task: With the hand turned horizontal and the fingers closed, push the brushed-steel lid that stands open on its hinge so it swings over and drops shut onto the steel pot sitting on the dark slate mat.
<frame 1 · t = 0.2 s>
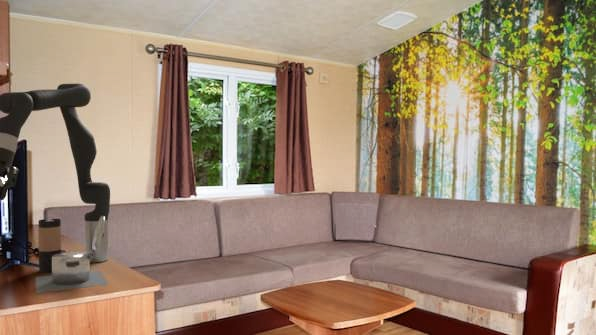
pot: (71, 280, 166), resting on mat
lid: (98, 235, 170), point 16 cm above the tv stand, hinge at 105.1°
mat: (71, 281, 166), on the tv stand
travel mug: (49, 272, 180), on the tv stand
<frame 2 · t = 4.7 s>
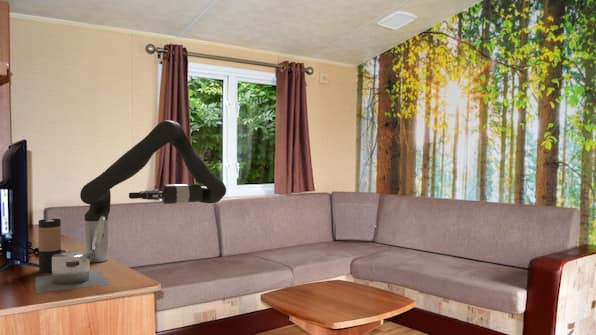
hand: (129, 195, 175), 30 cm above the tv stand, tool horizontal, fingers closed
nothing on the tv stand moved.
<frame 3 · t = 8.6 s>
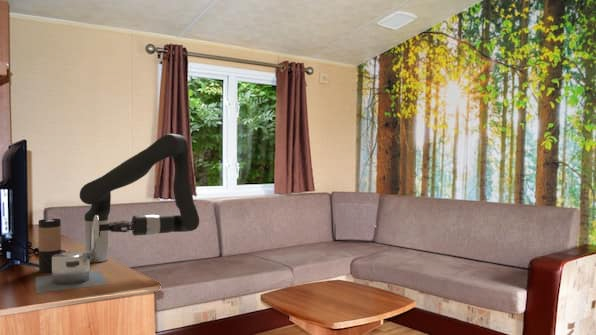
hand: (97, 227, 170), 19 cm above the tv stand, tool horizontal, fingers closed
lid: (95, 234, 170), point 16 cm above the tv stand, hinge at 95.1°, touching gripper
everything else where it was.
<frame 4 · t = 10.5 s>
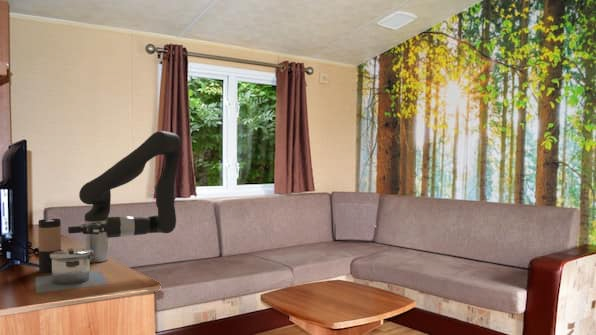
hand: (68, 230, 165), 19 cm above the tv stand, tool horizontal, fingers closed
lid: (72, 252, 166), point 10 cm above the tv stand, hinge at -1.8°, touching pot
everything else where it was.
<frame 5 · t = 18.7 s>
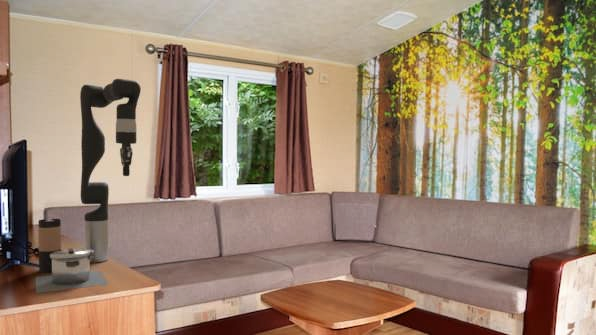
hand: (126, 175, 182), 37 cm above the tv stand, tool pointing down, fingers closed
nothing on the tv stand moved.
at the end: lid at -2° (first picture: +105°); the gripper is holding nothing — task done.
